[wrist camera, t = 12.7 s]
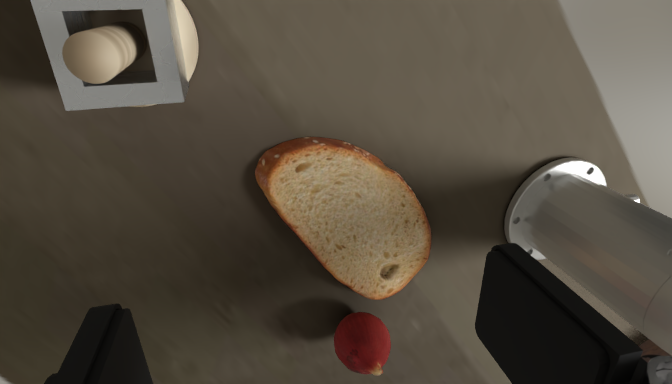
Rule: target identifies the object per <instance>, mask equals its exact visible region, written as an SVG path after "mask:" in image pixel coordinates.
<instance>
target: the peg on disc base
mask: <svg viewBox="0 0 672 384" xmlns="http://www.w3.org/2000/svg"><path fill="white" fill-rule="evenodd" d="M174 4H175V10H176V16H177V21H178V27H179V33H180V38H181V44H182V49H183V55H184V61H185V66H186V72H187V78H188V81H189V80H190V78H191V76H192V74H193V72H194V69H195V66H196V63H197V58H198V47H199V44H198V36H197V31H196V27H195V24H194V22H193V19H192V17H191V15H190V13H189V11H188V9H187V8H186V6H185V5H184V3H183V2H182V1H181V0H174ZM88 11H89V14H90V18H91V22H92V26H93V29H90V30H86V31H82V32H78V33H75V34H73V35H71V36H70V37H69V38H68V39H67V40H66V41H65V43H64V45H63V49H62V55H63V60H64V63H65V65H66V66H67V68H68V69H69V71H70V72H71V73H72V74H73V75H74V76H76V77H77V78H79V79H80V80H83V81H85V82H88V83H93V84H100V83H105V82H107V81H109V80H111V79H112V78H113V77H115V76H116V75H117V74H119V73H120V72H128V71H145V70H155V68H154V63H153V58H152V54H151V49H150V44H149V40H148V35H147V30H146V25H145V21H144V16H143V11H142V9H129V10H88ZM151 105H155V104H151ZM151 105H137V106H132V107H144V106H151Z"/></svg>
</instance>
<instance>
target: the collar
mask: <svg viewBox="0 0 672 384" xmlns="http://www.w3.org/2000/svg"><path fill="white" fill-rule="evenodd" d="M30 1H31V4H32V7H33V10H34V13H35V16H36V19H37V22H38V25H39V29H40V32H41V35H42V38H43V41H44V44H45V47H46V50H47V53H48V57H49V60H50V63H51V66H52V69H53V72H54V75H55V78H56V81H57V85H58V88H59V91H60V94H61V97H62V100H63V103H64V106H65V109H66V111H70V110H84V109H97V108H111V107H124V106H137V105H151V104H164V103H178V102H184V101H185V98H186V95H187V92H188V88H189V83H188V78H187V72H186V66H185V61H184V55H183V49H182V44H181V38H180V33H179V27H178V21H177V16H176V10H175V4H174V0H30ZM129 9H142V11H143V16H144V21H145V25H146V30H147V35H148V40H149V44H150V49H151V54H152V58H153V63H154V68H155V70H145V71H128V72H120V73H119V74H117V75H116V76H115V77H113V78H112V79H111V80H109V81H107V82H105V83H100V84H93V83H88V82H85V81H83V80H80V79H79V78H77V77H76V76H74V75H73V74H72V73H71V72H70V71H69V69H68V68H67V66H66V65H65V63H64V60H63V55H62V49H63V45H64V43H65V41H66V40H67V39H68V38H69V37H70V36H71V35H73V34H75V33H78V32H82V31H86V30H90V29H93V26H92V22H91V18H90V14H89V11H88V10H129Z"/></svg>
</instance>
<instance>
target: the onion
mask: <svg viewBox="0 0 672 384" xmlns="http://www.w3.org/2000/svg"><path fill="white" fill-rule="evenodd" d="M334 346H335V352H336V354H337V356H338V358H339V359H340V360H341V361H342V363H343V364H344V365H345V366H346V367H347V368H348V369H350V370H351V371H353V372H357V373H361V374H374V375H380V374H382V373H383V370H382V366H383V365H384V364H385V363H386V361H387V359H388V356H389V353H390V348H391V342H390V335H389V332H388V329H387V328H386V326H385V325H384V324H383V322H382V321H381V320H380V319H379V318H377V317H375V316H374V315H372V314H369V313H364V312H358V313H351V314H349V315H347V316H345V317H344V318H343V319H342V321H341V322H340V323H339V324H338V327H337V329H336V331H335V335H334Z"/></svg>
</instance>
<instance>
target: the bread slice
mask: <svg viewBox="0 0 672 384" xmlns="http://www.w3.org/2000/svg"><path fill="white" fill-rule="evenodd" d="M255 176H256V179H257V182H258V185H259V186H260V188H261V189H262V190H263V192H264V194H265V196H266V197H267V199H268V201H269V203H270V204H271V206H272V207H273V208H274V209H275V211H276V212H277V213H278V215H279V216H280V217H281V218H282V220H283V221H284V222H285V223H286V224H287V225H288V226H289V227H290V228H291V230H292V231H294V232H295V233H296V235H297V236H298V237H299V239H300V240H301V241H302V242H303V243H304V244H305V246H306V247H307V248H308V249H309V250H310V251H311V253H312V254H313V255H314V256H315V258H316V259H317V260H318V261H319V262H320V263H321V264H322V265H323V267H324V268H325V269H326V270H328V271H329V272H330V273H331V274H332V275H333V276H334V277H335V278H336V279H337V280H338V281H340V282H341V283H342V284H344V285H346V286H348V287H349V288H350V289H352V290H353V291H355V292H356V293H358V294H360V295H362V296H363V297H366V298H369V299H373V300H381V299H385V298H387V297H390V296H392V295H394V294H396V293H397V292H399V291H400V290H401V289H402V288H403V287H404V286H406V284H407V283H408V282H409V281H410V280H411V279H412V278H413V277H414V276H415V275H416V274H417V272H418V271H419V270H420V269H421V268H422V267H423V266H424V264H425V263H426V262H427V260H428V258H429V254H430V250H431V238H432V236H431V228H430V225H429V222H428V220H427V216H426V214H425V211H424V209H423V207H422V206H421V204H420V202H419V200H418V199H417V197H416V196H415V194H414V192H413V191H412V190H411V188H410V187H409V186H408V185H407V183H406V182H405V181H404V180H403V178H402V177H401V176H400V174H398V173H397V172H396V171H394V170H392V169H389V168H388V167H386V166H385V165H384V164H383V163H382V161H381V160H380V159H379V158H377V157H376V156H374V155H372V154H370V153H369V152H367V151H366V150H363V149H361V148H359V147H357V146H354V145H352V144H350V143H348V142H345V141H341V140H337V139H330V138H322V137H304V138H297V139H293V140H289V141H286V142H283V143H280V144H278V145H276V146H275V147H273V148H271V149H269V150H267V151H266V152H265V153H264V154H263V155H262V156H261V158H260V160H259V162H258V165H257V167H256V170H255Z"/></svg>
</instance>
